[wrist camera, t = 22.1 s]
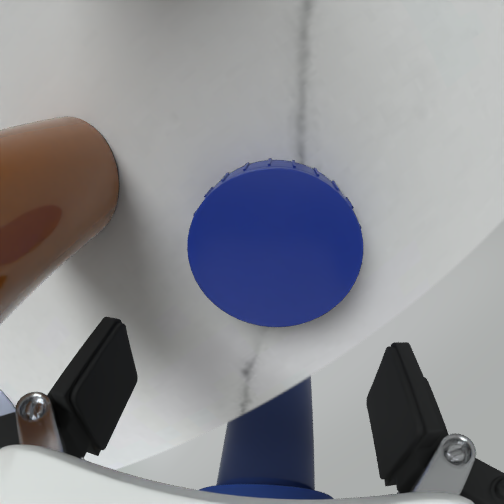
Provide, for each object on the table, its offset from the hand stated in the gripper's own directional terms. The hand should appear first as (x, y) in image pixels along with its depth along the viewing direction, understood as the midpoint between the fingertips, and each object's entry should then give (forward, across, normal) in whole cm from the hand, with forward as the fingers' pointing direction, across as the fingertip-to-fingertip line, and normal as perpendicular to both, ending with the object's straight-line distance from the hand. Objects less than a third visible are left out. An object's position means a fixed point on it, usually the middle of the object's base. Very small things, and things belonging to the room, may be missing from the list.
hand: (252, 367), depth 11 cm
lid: (+4, 0, -2) cm, 5 cm away
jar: (+6, +10, -5) cm, 13 cm away
